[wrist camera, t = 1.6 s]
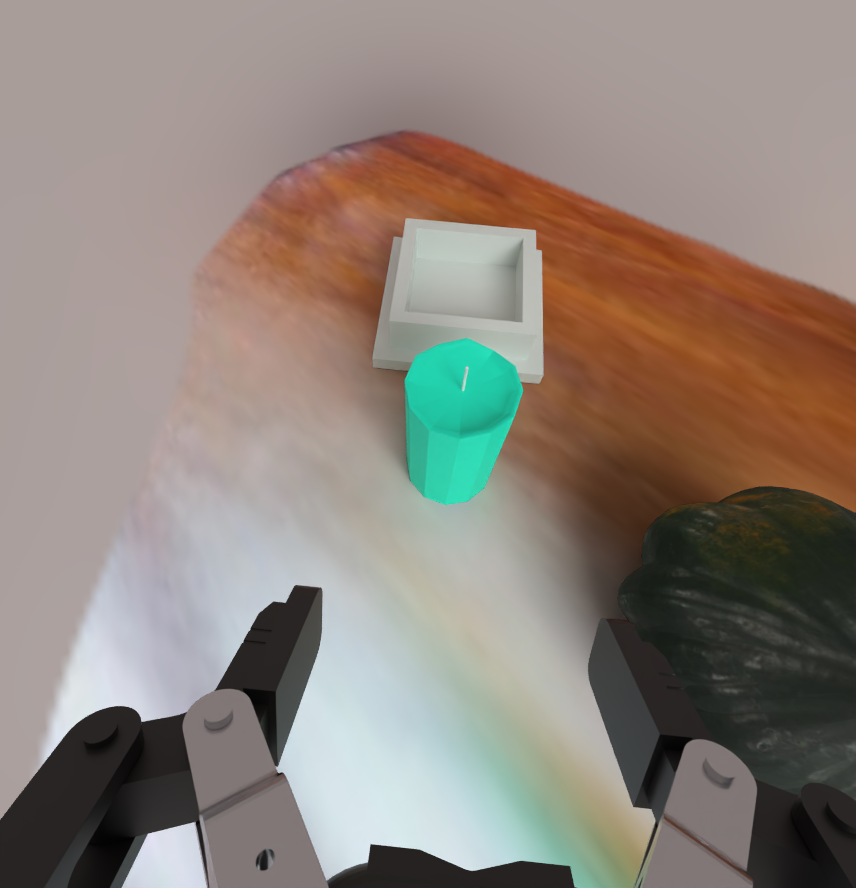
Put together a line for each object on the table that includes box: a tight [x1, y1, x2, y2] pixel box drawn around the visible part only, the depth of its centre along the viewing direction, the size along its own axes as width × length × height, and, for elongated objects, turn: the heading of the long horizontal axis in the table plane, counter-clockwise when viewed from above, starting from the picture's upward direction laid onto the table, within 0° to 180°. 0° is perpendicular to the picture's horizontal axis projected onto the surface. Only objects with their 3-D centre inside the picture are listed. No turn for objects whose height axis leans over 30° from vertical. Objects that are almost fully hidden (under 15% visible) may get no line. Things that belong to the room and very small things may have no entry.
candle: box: [405, 338, 523, 505], centre depth 27 cm, size 6×6×12 cm
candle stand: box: [372, 218, 543, 384], centre depth 37 cm, size 13×13×4 cm
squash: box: [618, 486, 856, 801], centre depth 23 cm, size 14×15×15 cm
